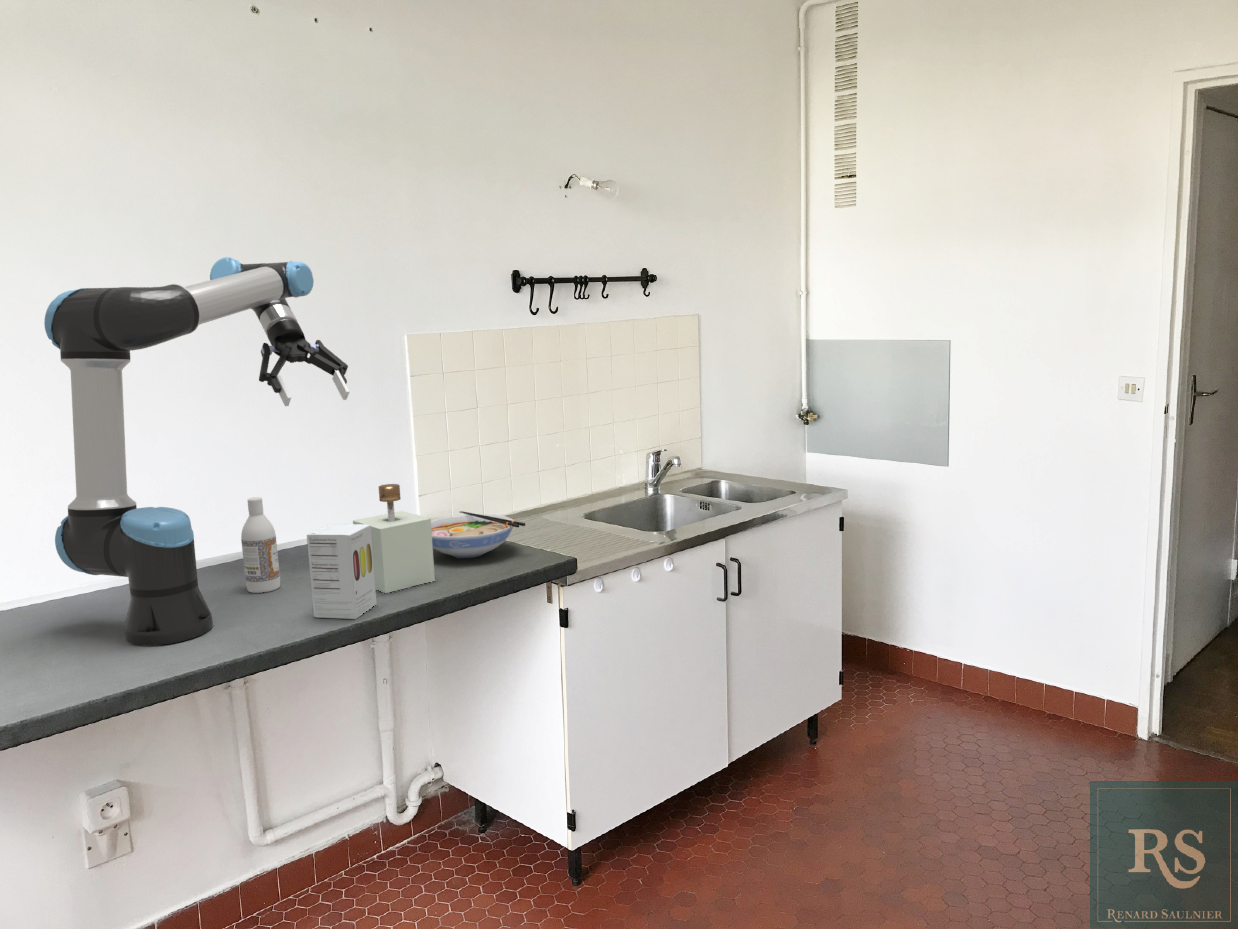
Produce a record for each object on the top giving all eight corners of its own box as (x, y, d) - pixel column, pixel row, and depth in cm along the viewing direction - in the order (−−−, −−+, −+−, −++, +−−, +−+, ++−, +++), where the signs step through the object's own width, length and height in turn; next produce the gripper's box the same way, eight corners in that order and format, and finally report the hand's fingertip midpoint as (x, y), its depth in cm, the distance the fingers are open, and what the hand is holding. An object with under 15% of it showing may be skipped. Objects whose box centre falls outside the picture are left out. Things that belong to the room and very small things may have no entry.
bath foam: (275, 593, 206) (265, 501, 203) (242, 594, 206) (232, 502, 203) (284, 583, 213) (276, 494, 210) (253, 584, 213) (243, 495, 210)
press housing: (385, 594, 203) (380, 529, 200) (358, 583, 212) (352, 520, 209) (434, 581, 211) (430, 518, 208) (406, 571, 219) (402, 510, 217)
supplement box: (356, 620, 187) (349, 535, 184) (312, 618, 189) (304, 534, 186) (378, 604, 196) (371, 523, 193) (336, 603, 198) (329, 522, 195)
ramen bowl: (399, 555, 234) (397, 522, 232) (478, 537, 249) (477, 505, 247) (456, 575, 215) (454, 539, 214) (538, 554, 230) (536, 520, 229)
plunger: (387, 579, 204) (380, 492, 201) (366, 570, 211) (359, 486, 208) (425, 569, 210) (419, 485, 207) (403, 562, 217) (397, 480, 214)
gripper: (329, 338, 232) (364, 404, 224) (224, 344, 216) (258, 416, 207) (337, 315, 227) (374, 382, 219) (231, 320, 211) (266, 392, 202)
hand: (318, 399), depth 213 cm, fingers open, 13 cm apart
